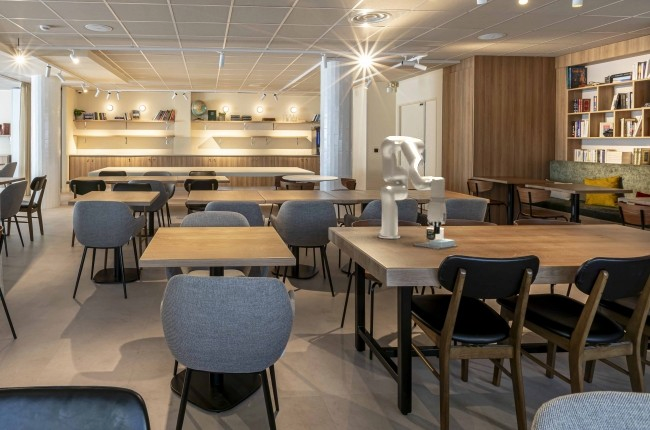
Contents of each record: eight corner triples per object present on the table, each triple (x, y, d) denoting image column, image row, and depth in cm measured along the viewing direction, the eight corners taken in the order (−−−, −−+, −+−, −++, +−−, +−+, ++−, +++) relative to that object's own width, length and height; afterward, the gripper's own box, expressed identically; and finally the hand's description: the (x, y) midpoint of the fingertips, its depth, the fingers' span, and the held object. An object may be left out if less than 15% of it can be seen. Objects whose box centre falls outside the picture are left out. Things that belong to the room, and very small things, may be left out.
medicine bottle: (426, 240, 366) (426, 219, 365) (434, 239, 370) (435, 218, 369) (435, 241, 361) (435, 220, 359) (443, 240, 365) (444, 219, 363)
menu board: (430, 240, 340) (441, 242, 334) (443, 238, 347) (454, 240, 341) (430, 246, 340) (441, 247, 334) (443, 244, 347) (454, 245, 341)
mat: (412, 245, 347) (412, 244, 347) (432, 242, 357) (432, 241, 357) (438, 249, 333) (438, 248, 333) (457, 246, 343) (457, 245, 343)
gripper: (422, 199, 345) (421, 233, 347) (443, 201, 333) (442, 235, 335) (431, 198, 349) (430, 231, 351) (452, 200, 338) (452, 234, 340)
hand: (436, 233), depth 343 cm, fingers closed
